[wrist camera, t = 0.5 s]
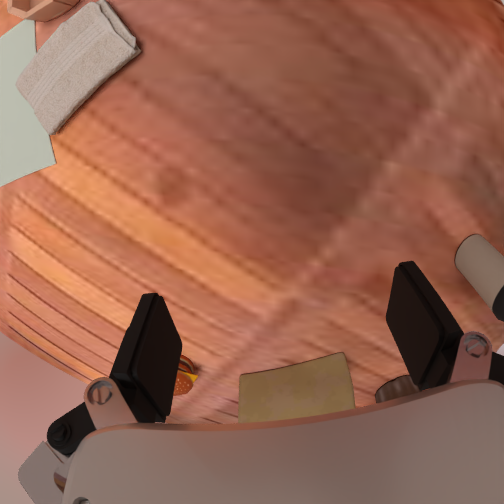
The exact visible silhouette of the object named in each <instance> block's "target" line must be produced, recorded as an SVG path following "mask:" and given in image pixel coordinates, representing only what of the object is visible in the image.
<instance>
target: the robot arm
mask: <svg viewBox="0 0 504 504" xmlns="http://www.w3.org/2000/svg"><path fill="white" fill-rule="evenodd" d="M386 321H387V324H388V326H389V329H390V331H391V333H392V335H393V337H394V340H395V342H396V344H397V346H398V349H399V351H400V353H401V355H402V358H403V360H404V362H405V365H406V367H407V369H408V372H409V374H410V377H411V379H412V382H413V384H414V385H418V388H419V390H420V391H421V392H418V393H415V394H411V395H408V396H404V397H400V398H397V399H393V400H389V401H385V402H381V403H377V404H373V405H369V406H364V407H360V408H355V409H350V410H345V411H339V412H334V413H328V414H322V415H316V416H309V417H302V418H294V419H286V420H276V421H265V422H252V423H233V424H164V423H165V420H166V416H169V415H170V411H171V405H172V400H173V394H174V389H175V383H176V378H177V372H178V367H179V362H180V357H181V352H182V341H181V339H180V336H179V334H178V332H177V330H176V327H175V325H174V323H173V320H172V318H171V315H170V313H169V311H168V308H167V306H166V303H165V301H164V299H163V297H162V296H159V295H158V294H157V293H148V294H143V295H142V297H141V299H140V302H139V304H138V307H137V309H136V311H135V314H134V316H133V319H132V321H131V324H130V326H129V327H128V329H127V330H126V333H125V335H124V338H123V341H122V343H121V346H120V348H119V351H118V354H117V356H116V359H115V362H114V365H113V367H112V370H111V373H110V376H109V378H107V377H101V378H97V379H95V380H93V381H92V382H91V383H90V384H89V385H88V386H87V388H86V390H85V392H84V400H85V402H83V403H82V404H80V405H79V406H77V407H76V408H74V409H73V410H71V411H69V412H68V413H66V414H65V415H64V416H62V417H60V418H59V419H57V420H56V421H54V422H53V423H52V424H51V425H50V427H49V429H48V432H47V442H44V441H42V443H41V444H40V445H39V446H38V447H37V448H36V449H35V451H34V452H33V453H32V454H31V455H30V456H29V457H28V459H27V460H26V461H25V462H24V463H23V464H22V465H21V467H20V469H19V472H18V478H19V481H20V483H21V485H22V486H23V488H24V489H25V491H26V492H27V494H28V495H29V496H30V498H31V499H32V500H33V502H34V503H35V504H504V356H502V355H500V354H497V353H495V352H492V345H491V342H490V341H489V339H488V338H487V337H486V336H485V335H484V334H482V333H479V332H475V331H471V332H467V333H465V334H464V333H463V331H462V329H461V328H460V326H459V325H458V323H457V322H456V320H455V318H454V317H453V315H452V314H451V312H450V311H449V309H448V308H447V306H446V305H445V303H444V302H443V301H442V299H441V298H440V296H439V295H438V293H437V292H436V291H435V289H434V288H433V287H432V285H431V284H430V282H429V281H428V280H427V278H426V277H425V276H424V274H423V273H422V272H421V270H420V269H419V268H418V266H417V265H416V264H415V262H414V261H407V262H401V263H399V265H398V267H396V268H395V271H394V277H393V283H392V288H391V294H390V299H389V304H388V309H387V313H386ZM429 388H430V389H429ZM426 389H428V390H426ZM422 390H425V391H422ZM155 422H162V423H155Z"/></svg>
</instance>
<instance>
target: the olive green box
mask: <svg viewBox="0 0 504 504" xmlns="http://www.w3.org/2000/svg"><path fill="white" fill-rule="evenodd" d="M350 409H355V400H354V391H353V384H352V379H351V375H350V372H349V368H348V365H347V361H346V358H345V355H344V353H342V352H340V353H336V354H333V355H329V356H326V357H322V358H318V359H315V360H311V361H307V362H304V363H300V364H296V365H292V366H288V367H283V368H279V369H274V370H269V371H263V372H257V373H251V374H244V375H241V376H240V382H239V409H238V423H252V422H265V421H276V420H286V419H294V418H302V417H309V416H316V415H322V414H328V413H334V412H339V411H345V410H350Z"/></svg>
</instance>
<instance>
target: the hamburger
mask: <svg viewBox="0 0 504 504" xmlns="http://www.w3.org/2000/svg"><path fill="white" fill-rule="evenodd" d="M193 372H194V366H193V363H192V362H191V361H190V360H189V359H188V358H187V357H185V356H183V355H181V357H180V362H179V367H178V372H177V378H176V383H175V389H174V394H173V396H176V395H182V394H186V393H188V392H189V391H190V390H191V389H192V387H193V383H194V381H195V380H196V379H197V377H198V375H194V374H193Z"/></svg>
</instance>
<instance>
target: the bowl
mask: <svg viewBox="0 0 504 504" xmlns="http://www.w3.org/2000/svg"><path fill="white" fill-rule="evenodd" d="M79 1H80V0H8V5H7V12H8V13H10V14H13V15H15V16H18V17H20V18H23V19H28V20H35V21H41V22H46V21H48V20H52V19H55V18H57V17H59V16H61V15H63V14H65V13H66V12H67V11H69V10H70V9H71V8H73V7H74V6H75V5H76V4H77V3H78V2H79Z"/></svg>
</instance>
